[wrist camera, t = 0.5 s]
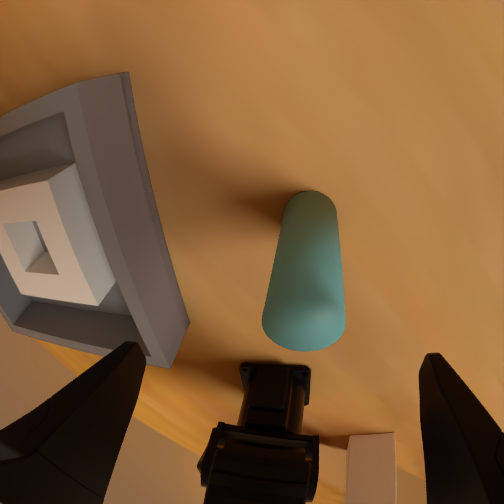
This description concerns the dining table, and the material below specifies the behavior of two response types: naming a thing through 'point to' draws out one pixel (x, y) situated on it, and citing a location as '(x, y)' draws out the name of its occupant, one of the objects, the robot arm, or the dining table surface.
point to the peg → (306, 277)
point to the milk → (371, 469)
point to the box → (85, 226)
